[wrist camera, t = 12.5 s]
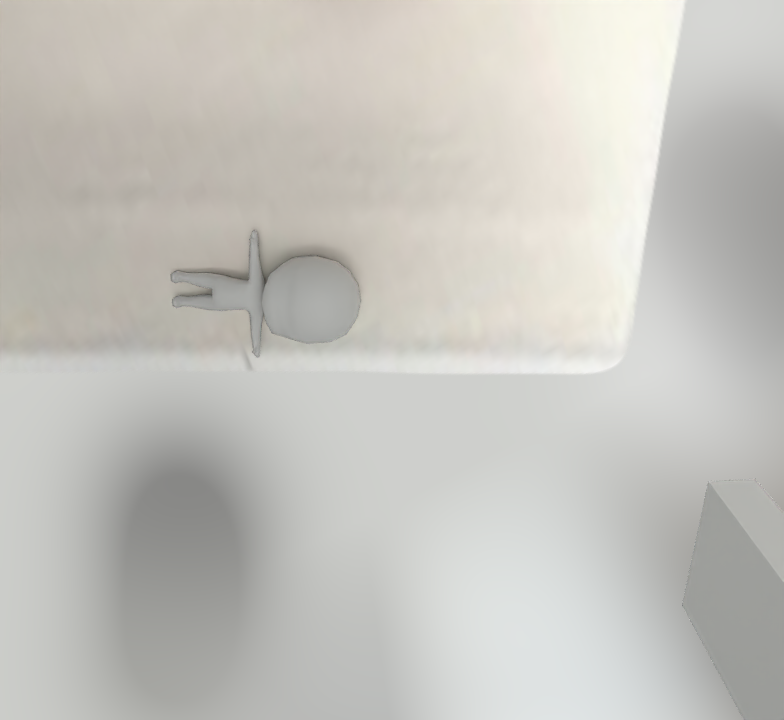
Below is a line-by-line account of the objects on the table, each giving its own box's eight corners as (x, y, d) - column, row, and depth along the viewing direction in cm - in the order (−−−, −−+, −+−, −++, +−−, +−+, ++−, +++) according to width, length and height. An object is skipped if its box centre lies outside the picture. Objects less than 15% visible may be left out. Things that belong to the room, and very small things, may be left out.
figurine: (151, 227, 38) (344, 241, 35) (200, 220, 43) (373, 232, 40) (160, 358, 41) (342, 381, 38) (206, 337, 46) (369, 356, 43)
